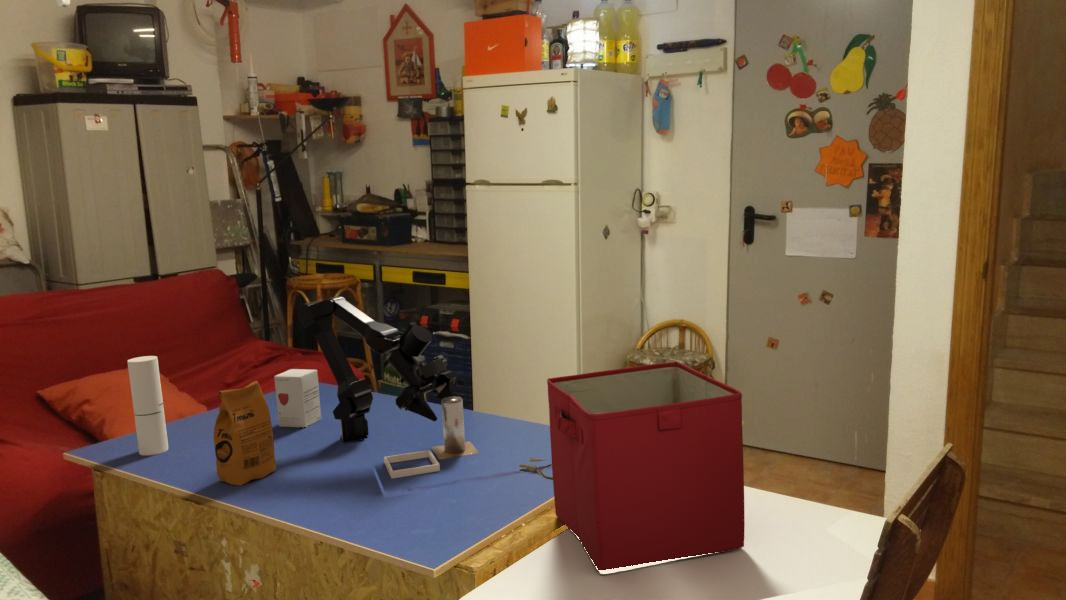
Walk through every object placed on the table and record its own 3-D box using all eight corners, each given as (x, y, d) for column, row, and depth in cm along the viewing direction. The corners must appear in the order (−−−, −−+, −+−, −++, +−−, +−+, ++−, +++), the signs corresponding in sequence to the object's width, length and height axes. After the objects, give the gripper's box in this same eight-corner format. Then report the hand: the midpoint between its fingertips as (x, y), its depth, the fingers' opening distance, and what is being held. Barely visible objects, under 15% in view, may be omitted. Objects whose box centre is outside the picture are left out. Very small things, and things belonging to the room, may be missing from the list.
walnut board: (439, 463, 198) (439, 459, 198) (431, 450, 208) (431, 447, 208) (479, 457, 201) (479, 453, 201) (469, 445, 211) (469, 441, 211)
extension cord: (551, 456, 200) (550, 449, 200) (600, 471, 189) (600, 463, 189) (514, 471, 192) (514, 463, 192) (563, 487, 181) (563, 478, 180)
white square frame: (391, 482, 187) (390, 472, 187) (384, 466, 198) (383, 456, 198) (440, 474, 191) (439, 464, 190) (430, 459, 201) (430, 449, 201)
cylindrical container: (173, 446, 223) (162, 355, 219) (159, 455, 215) (147, 361, 212) (148, 446, 223) (137, 356, 219) (133, 455, 216) (121, 362, 212)
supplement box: (277, 427, 235) (272, 375, 233) (295, 417, 244) (290, 368, 242) (305, 428, 233) (300, 376, 231) (322, 418, 241) (317, 368, 239)
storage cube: (589, 581, 138) (581, 414, 133) (543, 518, 164) (536, 376, 160) (761, 549, 146) (759, 391, 142) (691, 494, 172) (688, 358, 168)
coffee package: (211, 481, 194) (201, 390, 191) (256, 464, 204) (247, 378, 201) (236, 488, 189) (226, 395, 185) (282, 471, 198) (273, 382, 195)
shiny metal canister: (446, 454, 201) (443, 403, 199) (442, 448, 206) (439, 397, 204) (467, 451, 203) (464, 400, 201) (462, 445, 208) (459, 395, 206)
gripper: (400, 355, 196) (441, 404, 192) (447, 340, 212) (486, 385, 208) (378, 385, 201) (417, 433, 197) (425, 367, 217) (463, 412, 213)
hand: (447, 415), depth 204 cm, fingers open, 9 cm apart
